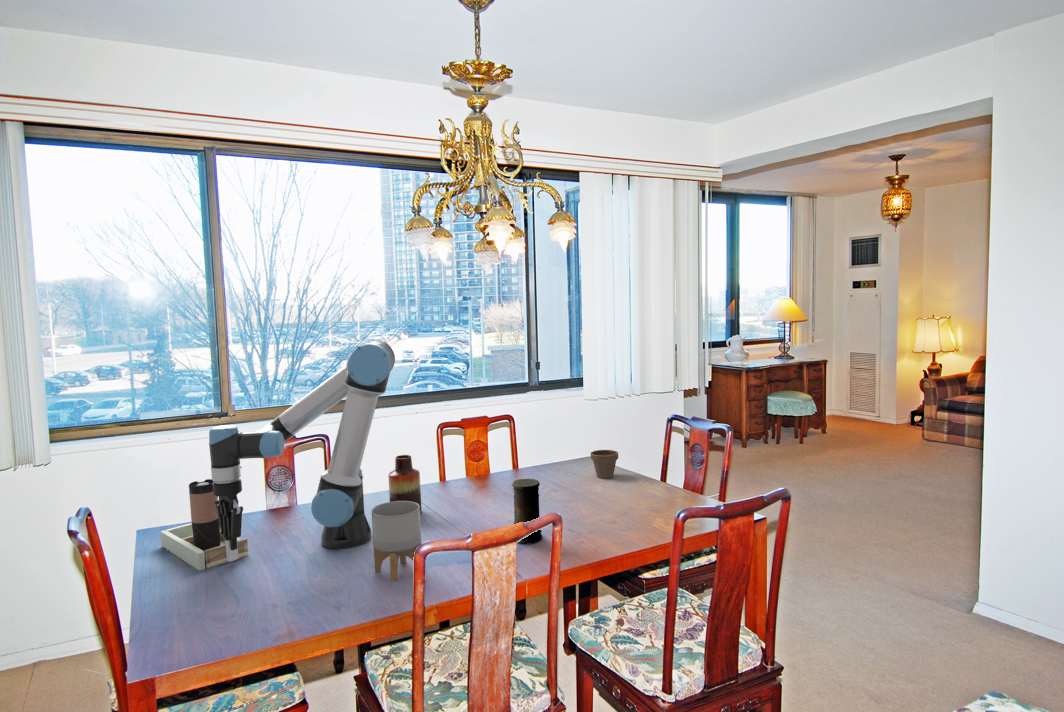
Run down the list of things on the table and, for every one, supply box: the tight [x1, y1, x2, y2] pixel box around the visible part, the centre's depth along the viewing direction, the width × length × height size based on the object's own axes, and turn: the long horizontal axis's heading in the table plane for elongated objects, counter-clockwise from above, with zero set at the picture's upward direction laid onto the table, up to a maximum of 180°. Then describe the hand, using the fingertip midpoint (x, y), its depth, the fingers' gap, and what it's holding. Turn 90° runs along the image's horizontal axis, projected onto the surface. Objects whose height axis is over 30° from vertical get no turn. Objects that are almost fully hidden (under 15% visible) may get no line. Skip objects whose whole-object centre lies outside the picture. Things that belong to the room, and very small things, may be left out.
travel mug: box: [188, 478, 221, 551], centre depth 197 cm, size 8×8×20 cm
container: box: [511, 478, 543, 545], centre depth 199 cm, size 9×9×18 cm
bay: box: [159, 522, 206, 572], centre depth 198 cm, size 29×15×5 cm, turn 49°
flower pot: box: [590, 449, 619, 479], centre depth 265 cm, size 12×11×10 cm
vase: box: [387, 454, 422, 515], centre depth 226 cm, size 11×11×20 cm
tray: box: [182, 530, 249, 569], centre depth 196 cm, size 20×12×5 cm, turn 49°
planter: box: [371, 501, 422, 582], centre depth 178 cm, size 13×13×18 cm
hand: (232, 559), depth 187 cm, fingers closed
